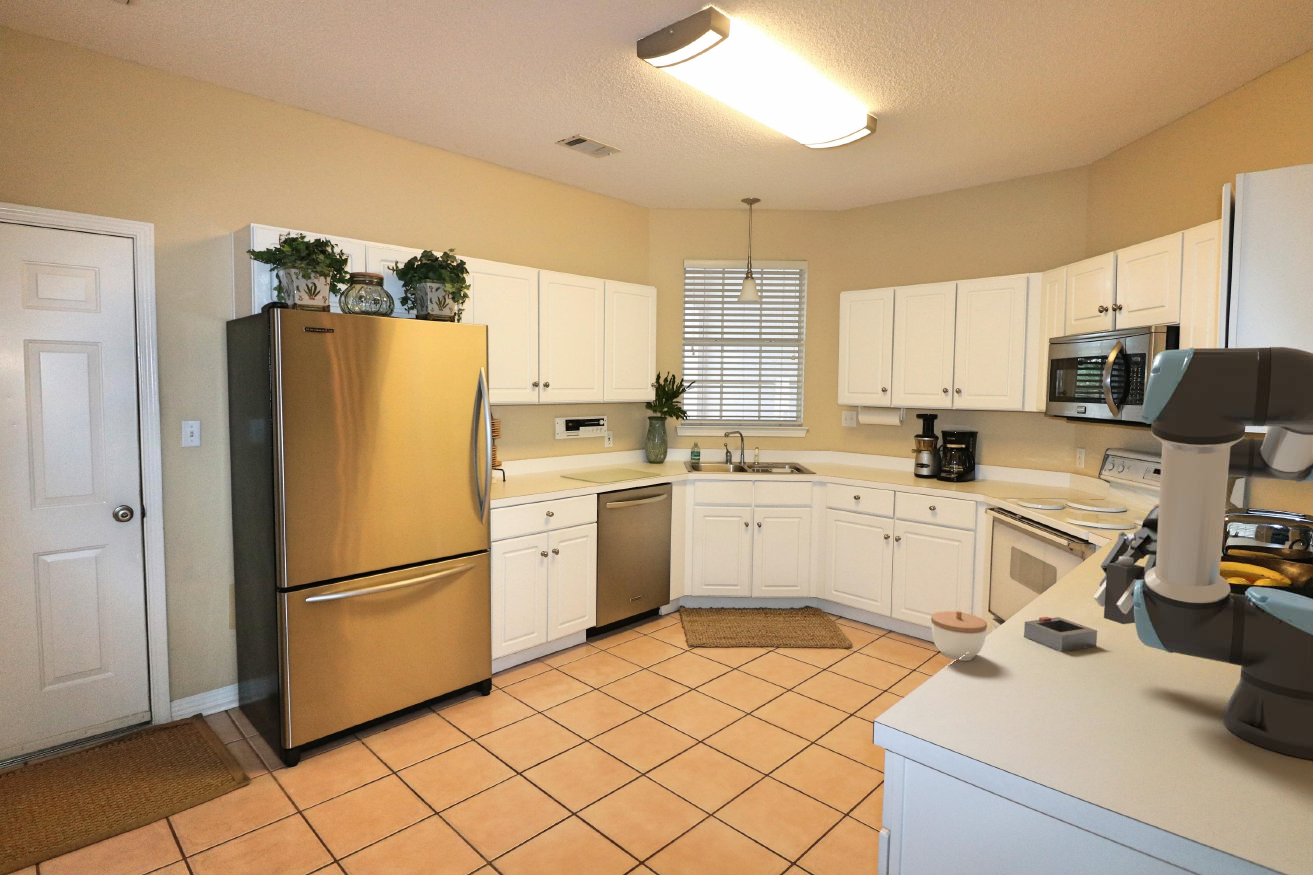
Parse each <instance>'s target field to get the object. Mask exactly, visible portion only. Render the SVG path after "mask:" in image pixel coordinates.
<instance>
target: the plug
mask: <svg viewBox="0 0 1313 875" xmlns="http://www.w3.org/2000/svg"><path fill="white" fill-rule="evenodd" d="M1133 562H1134V558H1131V557H1125V556H1119V563H1109V564H1107V574H1105V576H1106V592H1105V605H1104V606H1103V608H1104V610H1103V619H1105V620H1109V621H1111V622H1115V623H1118V624H1121V625H1131V624H1135V617H1134V604H1133V606H1132V607H1131V608H1130V610H1129V611H1128V613H1127V614H1125V613H1122V611H1121V610H1120V608H1119V607H1118V606H1117V603H1118V601H1119V600H1120V598H1121V597H1122V596H1123V594H1124V593H1125V591H1126V590H1127V589H1128V587H1129V586H1130V585H1131V583H1132V582H1133V580H1134V579H1137V580H1140V579H1139V577H1140V576H1141V575H1142V572H1143V570H1144V567H1145V566H1144V565H1143V566H1142V565H1139V564H1136V563H1135V564H1133ZM1138 576H1139V577H1138Z"/></svg>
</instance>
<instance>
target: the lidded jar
mask: <svg viewBox="0 0 1313 875" xmlns="http://www.w3.org/2000/svg"><path fill="white" fill-rule="evenodd" d="M930 621H931V636H932V639H933V643H934V645H935V647H936V648H937V649H938V650H939V651H940V652H941V655H942V656H944V657H945V658H948V659H950V660H956V661H961V662H962V661H963V662H964V661H971V660H972V659H974V657H975V656H977V655H978V654H980V652H981V651H982V649H983V647H984V645H985V642H986V634H987V629H988V624H987V622H986V620H985V619H984V618H982V617H979V616H976V615H973V614H970V613H966V612H963V611H961V610H956V611H952V610H951V611H949V610H948V611H947V610H945V611H943V610H942V611H938V612H933V614H932V615H931V618H930ZM967 652H969V653H967ZM966 653H967V654H966ZM963 655H965V656H963ZM962 656H963V657H962ZM960 657H962V658H961V659H960V660H958V659H959V658H960Z"/></svg>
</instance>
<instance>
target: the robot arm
mask: <svg viewBox="0 0 1313 875" xmlns="http://www.w3.org/2000/svg"><path fill="white" fill-rule="evenodd" d="M1151 365H1152V366H1151V369H1150V373H1149V378H1148V380H1147V381H1148V382H1147V386H1146V390H1145V391H1146V392H1145V396H1144V401H1143V406H1142V408H1141V409H1142V411H1141V417H1140V421H1141V422H1142V423H1146V424H1148V425H1149V424H1151V427H1150V428H1151V429H1150V430H1151V435H1152V436H1153V437H1154V438H1155V439H1156V440H1158V441H1159V442H1161V460H1160V461H1161V464H1160V482H1159V483H1160V484H1159V496H1158V497H1159V498H1158V500H1157V501H1156V503H1155V504H1154V505H1153V508H1152V509H1151V510H1150V511H1148V512H1149V513H1147V515H1146V517H1145V518H1144V520H1143V521H1142V524H1141V527H1140V528H1139V529H1138V530H1136V531H1135V532H1134V533H1131V534H1128V533H1127V534H1126V532H1125V531H1121V532H1119V533H1118V536H1117V540H1116V542H1115V544H1114V546H1113V547H1112V548H1111V549H1110V551H1109V552H1108V554H1107V556H1106V557H1105V559H1104V560H1103V561H1102V563H1101V564H1100V568H1101V569H1102V571H1103V573H1104V574H1105V575H1104V577H1103V578H1102V580H1101V581H1100V582H1099V589H1098V590H1097V591H1096V593H1095V594H1094V596H1093V599H1094V600H1095V601H1096V603H1097V604H1098V606H1099V607H1103V608H1104V606H1105V592H1106V574H1107V564H1109V563H1119V556H1125V557H1131V558H1134V562H1133V564H1135V565H1136V563H1137V562H1138V561H1139V560H1141V559H1143V560H1144V559H1145V557H1146V556H1148V557H1147V560H1146V563H1145V565H1144V566H1143V567H1144V570H1143V572H1142V575H1141V576H1140V577H1139V576H1138V577H1139V579H1140V580H1137V579H1134V580H1133V582H1132V583H1131V585H1130V586H1129V587H1128V589H1127V590H1126V591H1125V593H1124V594H1123V596H1122V597H1121V598H1120V600H1119V601H1118V603H1117V606H1118V607H1119V608H1120V610H1121V611H1122V613H1125V614H1127V613H1128V611H1129V610H1130V608H1131V607H1132V606H1133V604H1134V617H1135V623H1134V624H1135V630H1136V633H1137V634H1136V635H1137V637H1138V639H1139V640H1140V642H1141V643H1142V644H1143V645H1144V646H1147V647H1148V648H1152V649H1156V650H1161V651H1164V652H1167V653H1168V654H1174V653H1175V654H1179V655H1185V656H1188V657H1193V658H1194V657H1195V658H1200V659H1205V660H1208V661H1209V660H1210V661H1216V662H1220V663H1225V664H1230V665H1234V666H1240V676H1239V681H1238V684H1237V685H1236V687H1235V688H1234V689H1233V692H1232V693H1231V696H1230V698H1229V699H1228V701H1227V702H1226V705H1225V706H1224V710H1223V719H1222V723H1223V725H1224V727H1225V728H1226V729H1227V730H1229V731H1230V732H1231V733H1233V734H1234V735H1236V736H1237V737H1239V738H1241V739H1244V740H1245V741H1247V742H1249V743H1252V744H1254V745H1257V746H1259V747H1262V748H1265V749H1267V750H1271V751H1273V752H1276V753H1279V754H1283V755H1287V756H1292V757H1296V758H1301V759H1305V760H1313V598H1310V597H1307V596H1304V595H1301V594H1297V593H1293V592H1290V591H1286V590H1281V589H1275V588H1270V587H1262V586H1250V587H1249V588H1247V590H1246V591H1244V593H1245V594H1239V593H1233V592H1231V586H1230V584H1229V582H1228V581H1227V579H1226V578H1224V577H1223V576H1221V575H1220V574H1221V573H1220V572H1221V562H1222V550H1223V539H1224V527H1225V526H1224V525H1225V516H1226V515H1225V514H1226V504H1227V503H1226V502H1227V491H1228V482H1229V477H1234V478H1235V477H1239V478H1252V479H1254V478H1255V479H1267V480H1268V479H1269V480H1279V481H1290V482H1294V481H1295V482H1297V483H1298V482H1299V483H1302V482H1313V352H1310V351H1307V350H1303V349H1300V348H1293V347H1286V346H1269V347H1231V348H1230V347H1220V348H1218V347H1215V348H1214V347H1211V348H1210V347H1208V348H1207V347H1206V348H1203V347H1202V348H1201V347H1200V348H1199V347H1198V348H1196V347H1189V348H1185V349H1184V348H1183V349H1167V350H1163V351H1161V352H1159V353H1158V354H1156V355H1155V357H1154V358H1153V361H1152V364H1151ZM1246 427H1267V429H1266V433H1265V436H1264V438H1257V437H1256V438H1255V437H1254V438H1253V437H1245V434H1246Z"/></svg>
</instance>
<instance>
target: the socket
mask: <svg viewBox="0 0 1313 875" xmlns="http://www.w3.org/2000/svg"><path fill="white" fill-rule="evenodd" d="M1023 637H1024V638H1026V639H1029V640H1032V642H1037V643H1038V644H1041V645H1044V646H1046V647H1048V646H1049V648H1052V649H1053V648H1054V650H1055V651H1058V650H1059V651H1058V652H1068V650H1069V651H1074V650H1075V649H1076V650H1081V649H1080V648H1082V649H1086V647H1088V648H1091V647H1090V646H1094V647H1097V640H1098V630H1097V629H1094V628H1091V627H1088V626H1086V625H1085V626H1084V625H1082V624H1079V623H1076V622H1074V621H1072V620H1068V619H1066V618H1062V617H1061V616H1060V617H1059V616H1055V617H1049V616H1043V617H1038V619H1035V620H1033V619H1032V620H1026V621H1024V630H1023Z"/></svg>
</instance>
